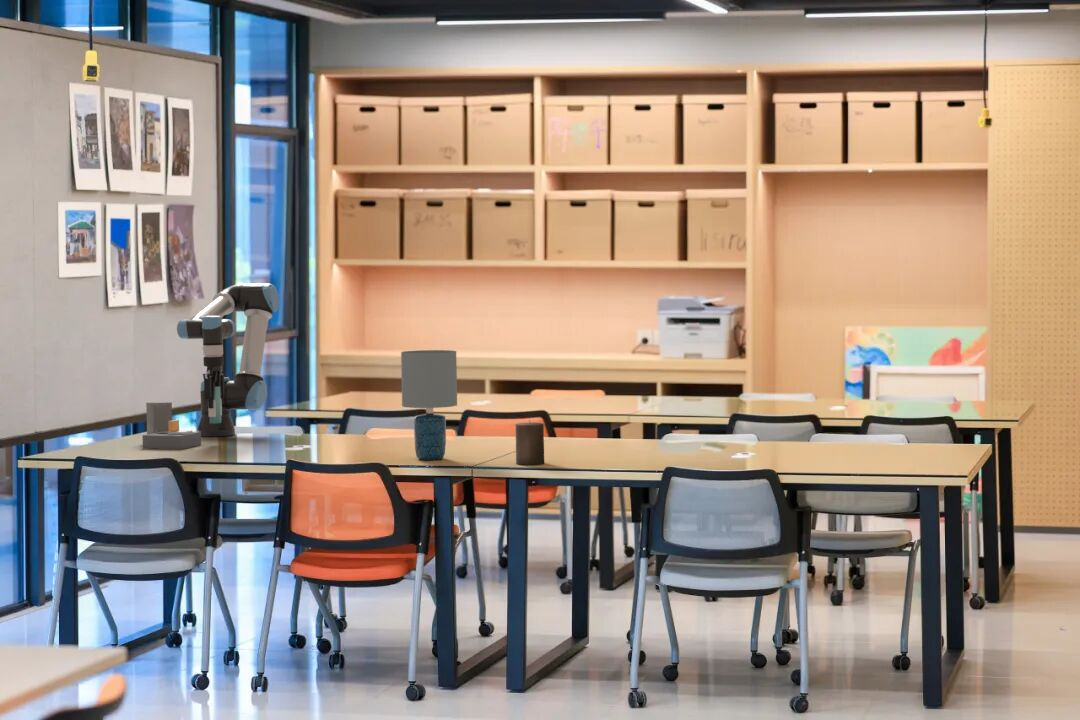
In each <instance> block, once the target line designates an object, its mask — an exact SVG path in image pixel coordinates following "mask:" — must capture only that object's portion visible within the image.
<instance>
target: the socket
mask: <svg viewBox="0 0 1080 720" xmlns="http://www.w3.org/2000/svg"><path fill="white" fill-rule="evenodd" d="M168 432H169V431H161V432H156V433H151V434H147V433H146V434H143V435H141V436H142V449H145V448H167V449H166V450H184V449H188V447H189V448H191V447H192V446H193V447H196V446H201V445H202V436H201V432H197V431H192V433H187V434H168Z"/></svg>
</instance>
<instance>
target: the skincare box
mask: <svg viewBox="0 0 1080 720" xmlns="http://www.w3.org/2000/svg"><path fill="white" fill-rule="evenodd" d="M145 405H146V406H145V407H146V434H151V433H156V432H161V431H169V424H168V421H173V403H172V401H169V402H168V401H167V402H166V401H165V402H164V401H156V402H154V401H153V402H146V403H145Z"/></svg>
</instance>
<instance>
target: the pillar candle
mask: <svg viewBox="0 0 1080 720" xmlns="http://www.w3.org/2000/svg"><path fill="white" fill-rule="evenodd" d="M528 421H529V422H519V423H515V425H514V426H515V461H516V463H515V464H516V465H519V466H521V465H523V466H533V465H535V466H537V465H538V466H539V465H544V464H545V438H544V437H545V435H544V433H545V432H544V427H545V426H544V423H543V422H531V420H530V419H529V420H528Z"/></svg>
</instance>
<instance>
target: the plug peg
mask: <svg viewBox="0 0 1080 720" xmlns="http://www.w3.org/2000/svg"><path fill="white" fill-rule="evenodd" d="M214 400H215V404H216V417H210V423H213V424H215V423H221V397H220V386H215V393H214Z"/></svg>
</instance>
